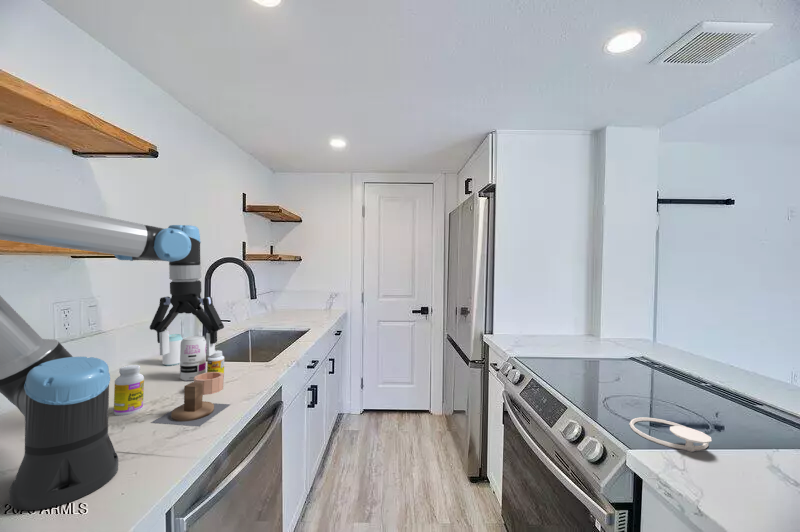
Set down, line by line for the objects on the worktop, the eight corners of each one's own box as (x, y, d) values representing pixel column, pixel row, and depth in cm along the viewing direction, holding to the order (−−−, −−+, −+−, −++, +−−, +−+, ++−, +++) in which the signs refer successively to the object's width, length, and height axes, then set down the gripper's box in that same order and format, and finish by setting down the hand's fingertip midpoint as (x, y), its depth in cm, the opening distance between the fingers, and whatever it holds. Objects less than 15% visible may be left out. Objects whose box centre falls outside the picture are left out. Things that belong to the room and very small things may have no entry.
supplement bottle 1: (126, 418, 94) (127, 371, 94) (107, 415, 95) (108, 369, 95) (149, 408, 100) (150, 364, 100) (130, 405, 102) (131, 362, 101)
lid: (197, 422, 91) (198, 392, 91) (161, 420, 92) (162, 390, 92) (221, 406, 102) (222, 379, 102) (189, 404, 103) (189, 377, 102)
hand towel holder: (677, 408, 100) (741, 444, 80) (676, 422, 100) (741, 463, 80) (617, 404, 102) (665, 439, 81) (616, 419, 102) (665, 458, 81)
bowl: (212, 396, 110) (213, 381, 110) (187, 394, 111) (188, 379, 111) (228, 386, 118) (228, 372, 118) (205, 385, 119) (205, 371, 119)
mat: (199, 427, 89) (199, 426, 89) (150, 424, 91) (150, 422, 91) (230, 405, 103) (230, 404, 103) (187, 402, 104) (187, 401, 104)
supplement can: (199, 372, 132) (200, 334, 132) (209, 377, 128) (210, 337, 127) (175, 378, 126) (176, 337, 126) (185, 383, 121) (186, 341, 121)
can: (186, 362, 145) (187, 334, 145) (172, 366, 139) (173, 337, 138) (172, 360, 147) (173, 333, 147) (158, 365, 140) (158, 336, 140)
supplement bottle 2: (203, 381, 123) (204, 353, 123) (212, 376, 129) (213, 349, 129) (218, 382, 123) (218, 353, 123) (227, 376, 128) (227, 350, 128)
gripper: (235, 279, 99) (237, 351, 100) (153, 278, 100) (155, 349, 101) (220, 281, 91) (222, 359, 92) (132, 281, 93) (135, 357, 94)
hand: (187, 354), depth 97 cm, fingers open, 13 cm apart
